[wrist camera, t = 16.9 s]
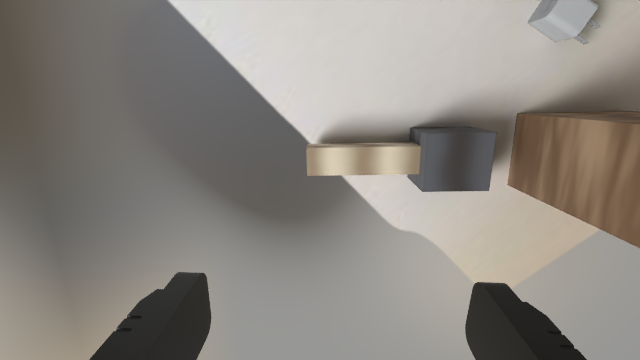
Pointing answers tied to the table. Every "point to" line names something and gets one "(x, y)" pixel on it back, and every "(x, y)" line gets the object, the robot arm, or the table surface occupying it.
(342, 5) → the table surface
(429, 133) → the mallet
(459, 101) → the table surface
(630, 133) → the wooden block
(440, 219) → the table surface
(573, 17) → the usb wall charger
